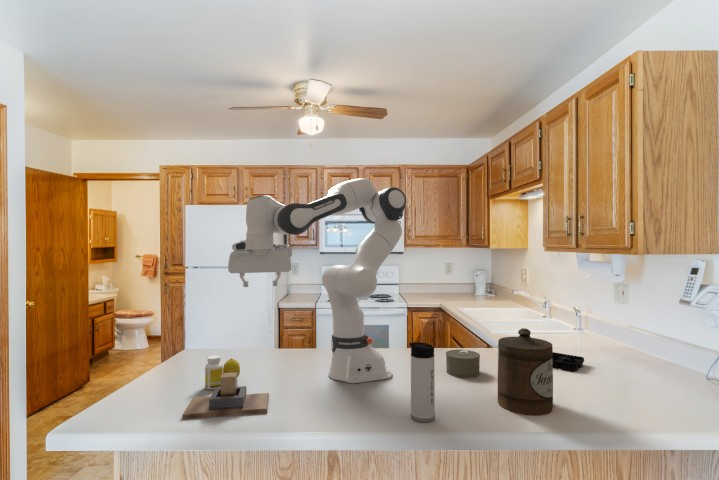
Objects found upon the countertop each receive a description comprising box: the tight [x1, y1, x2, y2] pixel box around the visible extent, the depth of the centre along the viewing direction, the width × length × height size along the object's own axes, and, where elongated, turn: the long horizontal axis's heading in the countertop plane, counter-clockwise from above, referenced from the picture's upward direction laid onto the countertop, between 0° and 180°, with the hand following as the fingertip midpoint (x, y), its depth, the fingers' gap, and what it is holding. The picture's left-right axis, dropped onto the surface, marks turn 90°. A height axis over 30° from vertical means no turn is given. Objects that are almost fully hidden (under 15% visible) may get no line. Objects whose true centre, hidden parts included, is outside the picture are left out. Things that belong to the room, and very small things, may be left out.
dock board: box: [182, 392, 270, 420], centre depth 117 cm, size 22×12×1 cm, turn 100°
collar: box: [209, 385, 247, 410], centre depth 117 cm, size 9×9×3 cm
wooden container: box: [497, 327, 554, 416], centre depth 118 cm, size 15×15×22 cm
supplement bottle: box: [204, 355, 224, 391], centre depth 133 cm, size 5×5×10 cm
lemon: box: [223, 358, 241, 379], centre depth 138 cm, size 6×6×8 cm
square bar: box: [221, 372, 238, 397], centre depth 117 cm, size 4×4×8 cm
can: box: [445, 349, 481, 379], centre depth 147 cm, size 12×12×7 cm
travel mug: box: [409, 341, 436, 423], centre depth 109 cm, size 6×7×20 cm
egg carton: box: [552, 351, 585, 373], centre depth 161 cm, size 18×30×4 cm, turn 60°
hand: (260, 286), depth 135 cm, fingers open, 8 cm apart
